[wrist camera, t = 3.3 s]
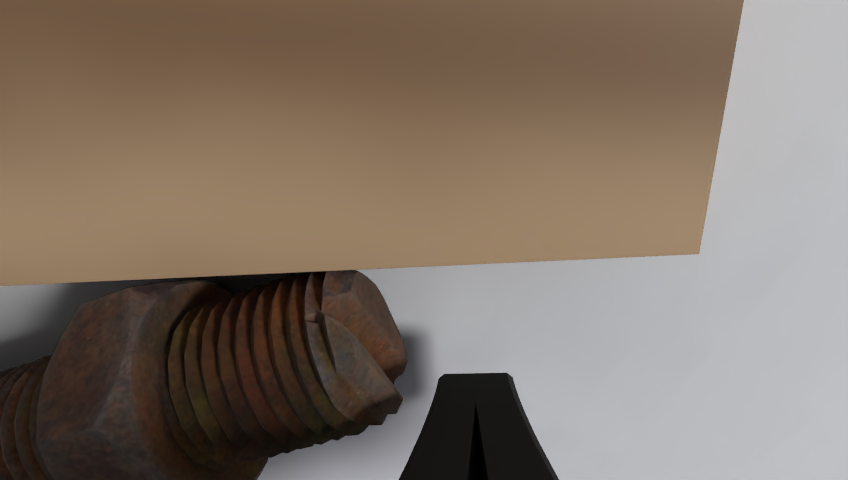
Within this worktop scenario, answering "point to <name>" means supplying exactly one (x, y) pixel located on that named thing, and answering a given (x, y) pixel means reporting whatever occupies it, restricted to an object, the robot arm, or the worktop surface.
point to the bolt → (202, 380)
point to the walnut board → (353, 133)
